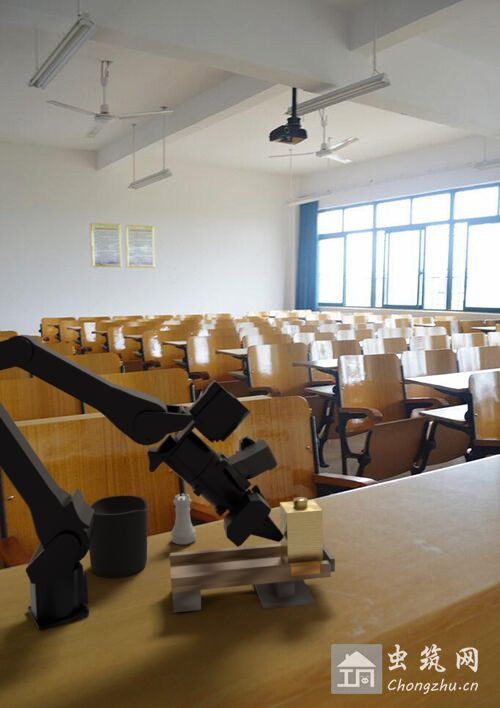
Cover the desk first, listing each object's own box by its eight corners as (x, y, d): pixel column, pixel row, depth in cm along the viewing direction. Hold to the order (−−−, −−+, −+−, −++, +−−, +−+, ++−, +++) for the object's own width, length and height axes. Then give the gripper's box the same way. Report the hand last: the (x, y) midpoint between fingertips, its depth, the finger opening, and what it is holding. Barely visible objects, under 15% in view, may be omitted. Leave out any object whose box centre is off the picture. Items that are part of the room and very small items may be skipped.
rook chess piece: (192, 546, 97) (190, 500, 97) (167, 544, 98) (165, 499, 98) (199, 536, 102) (198, 492, 101) (175, 535, 103) (174, 491, 102)
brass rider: (288, 569, 78) (286, 506, 78) (281, 556, 83) (279, 495, 82) (323, 566, 79) (322, 503, 79) (314, 553, 84) (313, 493, 83)
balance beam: (172, 618, 74) (171, 575, 74) (170, 586, 83) (169, 547, 82) (336, 601, 77) (335, 559, 77) (317, 572, 86) (317, 534, 86)
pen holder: (161, 564, 91) (159, 502, 90) (111, 586, 84) (108, 519, 83) (126, 549, 97) (123, 491, 96) (76, 568, 90) (73, 506, 89)
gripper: (251, 437, 69) (340, 518, 72) (232, 412, 88) (303, 477, 90) (188, 505, 68) (280, 585, 71) (182, 466, 87) (255, 530, 89)
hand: (281, 538), depth 80 cm, fingers closed
